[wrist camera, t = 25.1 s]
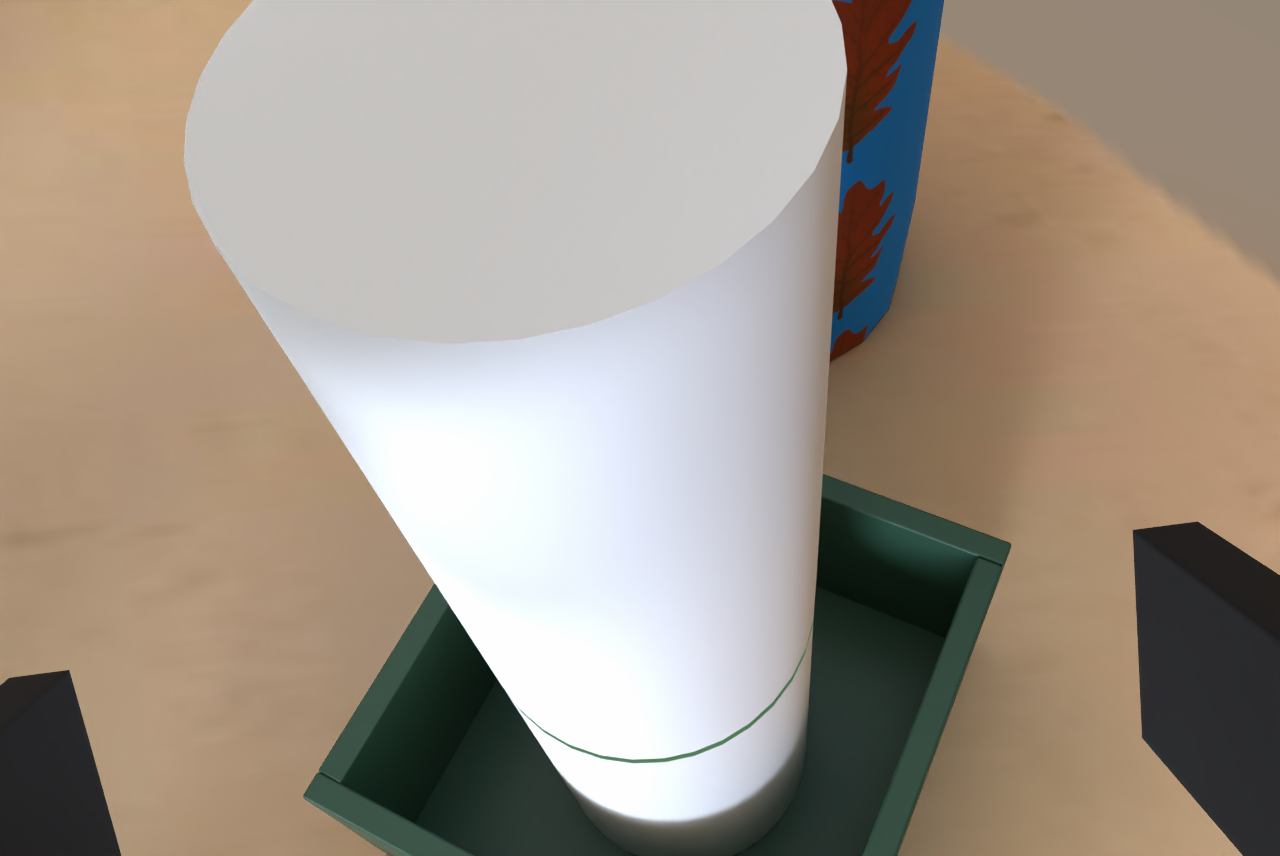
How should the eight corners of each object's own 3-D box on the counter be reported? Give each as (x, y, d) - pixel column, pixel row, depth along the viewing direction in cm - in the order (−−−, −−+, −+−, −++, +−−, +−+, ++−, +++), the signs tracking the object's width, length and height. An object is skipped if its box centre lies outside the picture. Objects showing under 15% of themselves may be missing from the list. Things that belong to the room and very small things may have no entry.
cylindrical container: (760, 596, 35) (725, -185, 14) (842, 822, 32) (961, 217, 10) (541, 663, 35) (170, -37, 14) (597, 899, 31) (202, 435, 10)
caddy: (807, 1087, 29) (814, 1080, 23) (384, 852, 33) (301, 796, 28) (974, 638, 35) (1013, 542, 29) (594, 485, 39) (562, 376, 33)
